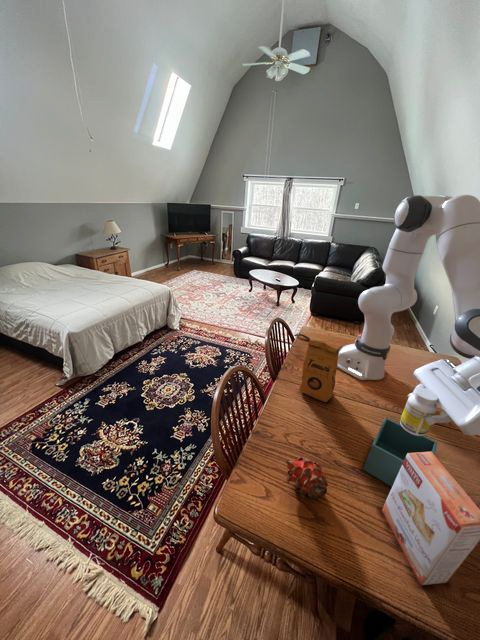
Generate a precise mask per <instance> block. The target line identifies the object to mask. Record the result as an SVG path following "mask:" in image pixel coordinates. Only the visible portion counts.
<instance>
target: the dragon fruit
mask: <svg viewBox="0 0 480 640" xmlns="http://www.w3.org/2000/svg"><path fill="white" fill-rule="evenodd" d="M285 463H286V464H287V465H286V468H287V474H288V476H289V477H286V484H287V485H289V483H290V482H292V483H295V486H296V487H295V491H296V492H297V493H300V496H301V497H302V498H305V497H306V495H308V497H309V499H310V500H312V501H316V499H317V498H319V499H320V498H322V497H324V496H326V494H327V493H328V486H329V483H328V480H327V476H326V475H325V474H324V473H323V469H322V467H321V465H320V464H319V463H318V462H315V461H314V460H313V461H312V460H310V459H308V458H306V457H304V456H300V457H299V458H295V459H290V460H286V461H285Z"/></svg>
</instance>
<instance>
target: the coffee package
mask: <svg viewBox="0 0 480 640" xmlns="http://www.w3.org/2000/svg"><path fill="white" fill-rule="evenodd" d="M308 341H309V342H308V346H307V350H306V352H305V353H306V354H305V357H304V360H303V367H302V374H301V381H300V385H299V388H298V391H299V392H300V393H303V394H305V395H307V396H309V397H311V398H314V399H316V400H318V401H320V402H324V403H328V401H330V399H331V398H332V397H333V394H334V390H335V387H336V373H337V369H338V368H337V365H338V362H337V361H338V355H339V347H336V346H334V345H332V344H329V343H327V342H324V341H319V340H315V339H312V338H310V340H308Z"/></svg>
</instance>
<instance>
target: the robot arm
mask: <svg viewBox="0 0 480 640" xmlns="http://www.w3.org/2000/svg"><path fill="white" fill-rule="evenodd" d="M393 222H394V223H393V224H394V226H395V231H394V233H393V234H392V237H391V240H390V242H389V244H388V248H387V251H386V253H385V257H384V259H383V263H382V271H383V272H384V273H385V284H383V285H379V286H373V287H370V288H369V289H366V290H364V291H362V292H361V293H360V294H359V297H358V300H357V304H358V309H359V310H360V311H361V313H363V317H364V325H363V329H362V333H360V334H358V335H357V336H356V338H355V340H354V343H351V344H347V345H344V346H339V347H338V348H339V355H338V361H337V362H338V365H337V369H339V370H341V371H343V372H345V373H346V374H348V375H350V376H351V377H353V378H356V379H357V380H360V381H366V380H369V381H370V380H371V381H379V380H382V379H383V378H385V376H386V375H385V367H386V361H387V359H388V357H389V354H390V350H391V343H392V340H393V337H394V334H395V327H394V325H393V324H392V321H391V320H392V315H393V314H394V313H398V312H403V311H405V310H408V309H409V308H411V307H412V306H414V305H415V304H416V302H417V301H418V293H417V290H416V289H415V280H416V279H415V278H416V274H417V271H418V268H419V265H420V262H421V259H422V257H423V256H424V255H423V254H424V252H425V250H426V246H427V243H428V241H429V239H430V238H431V237H432V236H435V241H436V243H435V244H436V248H437V252H438V255H439V258H440V261H441V264H442V266H443V267H442V268H443V269H444V272H445V275H446V277H447V280H448V283H449V285H450V290H451V294H452V302H453V303H452V304H453V309H454V321H455V322H454V324H453V327H452V331H451V333H450V336H449V344H450V347H451V349H452V350H453V351H454V352H455V353H456V354H458V355H459V356H460V357H462V358H465V359H468V360H466V361H464V362H462V363H460V364H458V365H457V364H456V363H454V362H453V361H452V360H451V359H445V358H444V359H443V358H441V359H438V360H436V361H432V362H429V363H427V364H424V365H423V366H422V365H421V366H420V367H418V368H416V369H414V372H413V376H414V377H415V378H416V379H417V381H418V382H419V384H417V385H416V387H414V389H413V391H412V392H411V393H409V394H407V399H408V398H409V397H410V396H411V395H413V394H414V392H415V390H416V389H417V388H426V389H429V390H431V391H433V392H434V393H435V394H436V396H437V397H438V400H437V403H436V404H438V406H439V407H440V408H441V409H442V410H443V411H441V412H439V414H437V415H436V414H435V415H434V416H431V414H430V413H429V414H427V415H426V416H424V417H423V418H424V419H425V421H426V422H427V423H428V425H430V426H432V425H434V424H436V423H437V424H448V423H450V422H453V423H454V424H455V425H456V426H457V428H459V430H460V431H461V432H462V434H463V435H464V436H469V437H473V436H477V435H480V200H479V199H478V197H476V196H474V195H471V194H460V195H456V196H448V195H421V194H420V195H419V194H417V195H410V196H406V197H404V199H402V200H401V201H400V203H399V204H397V207H396V209H395V211H394V214H393ZM298 334H299V335H298ZM293 336H294V337H297V336H298V337H303V338H305V339H306V340H307V341H310V339H311V338H310V337H309V336H307V335H305V334H302V333H296V334H294V335H293Z"/></svg>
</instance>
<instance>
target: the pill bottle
mask: <svg viewBox="0 0 480 640" xmlns="http://www.w3.org/2000/svg"><path fill="white" fill-rule="evenodd" d="M437 400H438V397H437V396H436V394H435V393H434V392H433V391H431V390H429V389H426V388H417V389H416V390H415V392H414V394H413V395H411V396H410V397H409V398H408V397H407V400H406V403H405V406H404V409H403V411H402V414H401V416H400V420H399V424H400V425H401V426H402V428H403V429H404V430H406V431H407V432H409V433H410V434H413V435H416V436H426V435H427V434H428V432H429V430H430V428H431V425H428V423H427V422H426V421H425V419H424V418H423V417H424V416H426V415H427V414H429V413H430V414H431V416H434V415H436V414H437V412H438V405H437V404H438V403H437Z"/></svg>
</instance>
